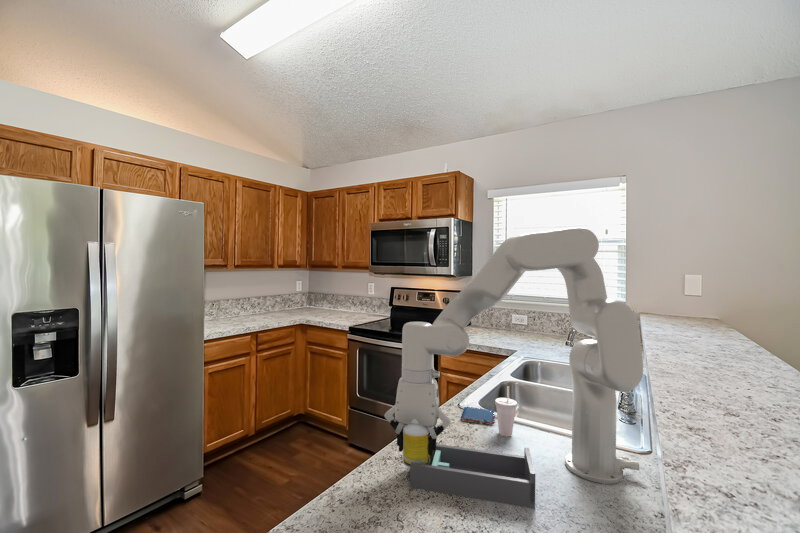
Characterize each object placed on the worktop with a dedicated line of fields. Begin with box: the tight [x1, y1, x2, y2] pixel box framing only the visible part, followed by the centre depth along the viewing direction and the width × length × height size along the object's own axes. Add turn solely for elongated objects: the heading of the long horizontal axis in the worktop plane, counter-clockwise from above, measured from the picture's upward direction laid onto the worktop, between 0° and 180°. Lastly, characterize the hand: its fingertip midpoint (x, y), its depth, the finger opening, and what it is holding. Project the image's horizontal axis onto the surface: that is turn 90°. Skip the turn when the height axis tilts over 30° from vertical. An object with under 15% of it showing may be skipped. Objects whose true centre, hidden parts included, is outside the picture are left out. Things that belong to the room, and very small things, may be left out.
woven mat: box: [460, 406, 496, 425], centre depth 117 cm, size 10×11×2 cm
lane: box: [409, 443, 536, 510], centre depth 80 cm, size 26×11×7 cm, turn 76°
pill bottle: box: [402, 419, 431, 469], centre depth 83 cm, size 6×6×12 cm
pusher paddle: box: [432, 450, 449, 468], centre depth 82 cm, size 4×8×3 cm, turn 166°
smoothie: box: [494, 386, 518, 438], centre depth 105 cm, size 6×6×14 cm
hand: (416, 450), depth 83 cm, fingers closed on pill bottle, 6 cm apart
